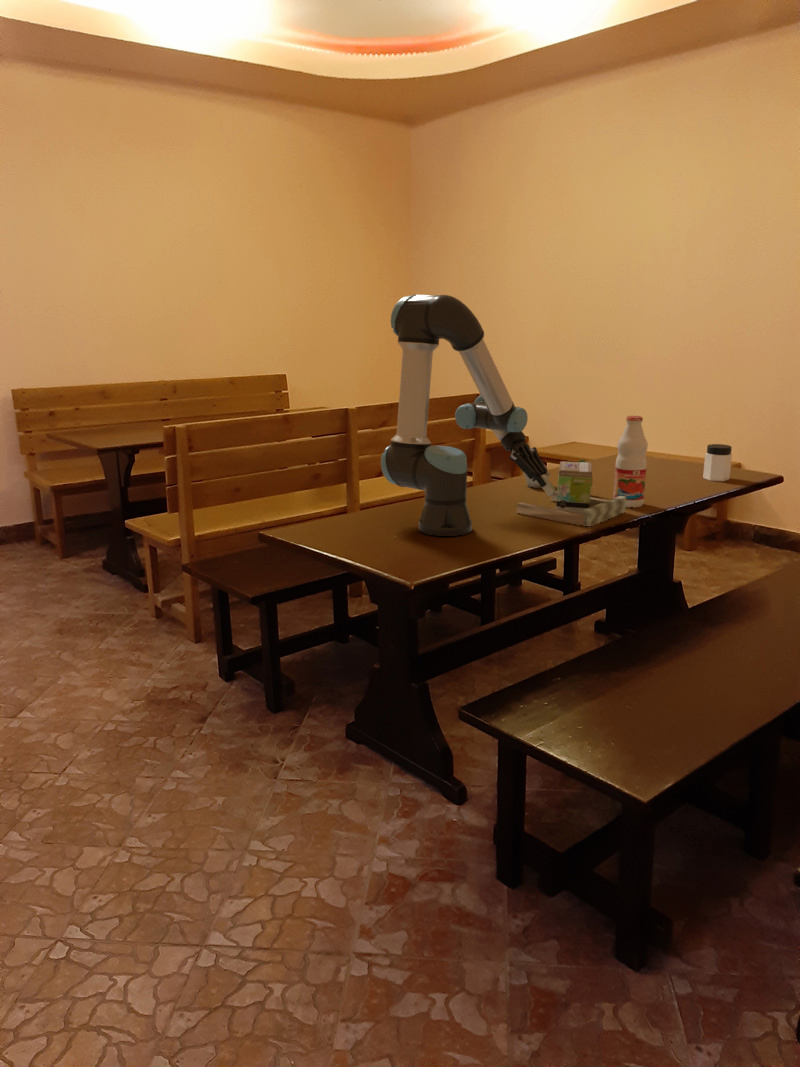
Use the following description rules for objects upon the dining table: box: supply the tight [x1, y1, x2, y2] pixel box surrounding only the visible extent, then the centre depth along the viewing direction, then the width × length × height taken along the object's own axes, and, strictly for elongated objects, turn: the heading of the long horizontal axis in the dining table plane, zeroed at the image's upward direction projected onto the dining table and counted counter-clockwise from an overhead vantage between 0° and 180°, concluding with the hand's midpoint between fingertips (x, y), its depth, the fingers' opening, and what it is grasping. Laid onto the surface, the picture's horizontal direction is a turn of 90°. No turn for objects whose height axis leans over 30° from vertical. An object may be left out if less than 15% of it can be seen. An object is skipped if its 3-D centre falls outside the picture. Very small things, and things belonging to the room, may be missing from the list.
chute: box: [516, 491, 627, 527], centre depth 254 cm, size 22×25×5 cm
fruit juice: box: [612, 415, 649, 508], centre depth 261 cm, size 9×9×28 cm
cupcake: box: [522, 462, 551, 489], centre depth 288 cm, size 9×9×10 cm
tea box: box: [555, 461, 593, 514], centre depth 253 cm, size 15×10×15 cm
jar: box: [702, 443, 733, 482], centre depth 298 cm, size 9×8×12 cm
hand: (552, 493), depth 258 cm, fingers closed
